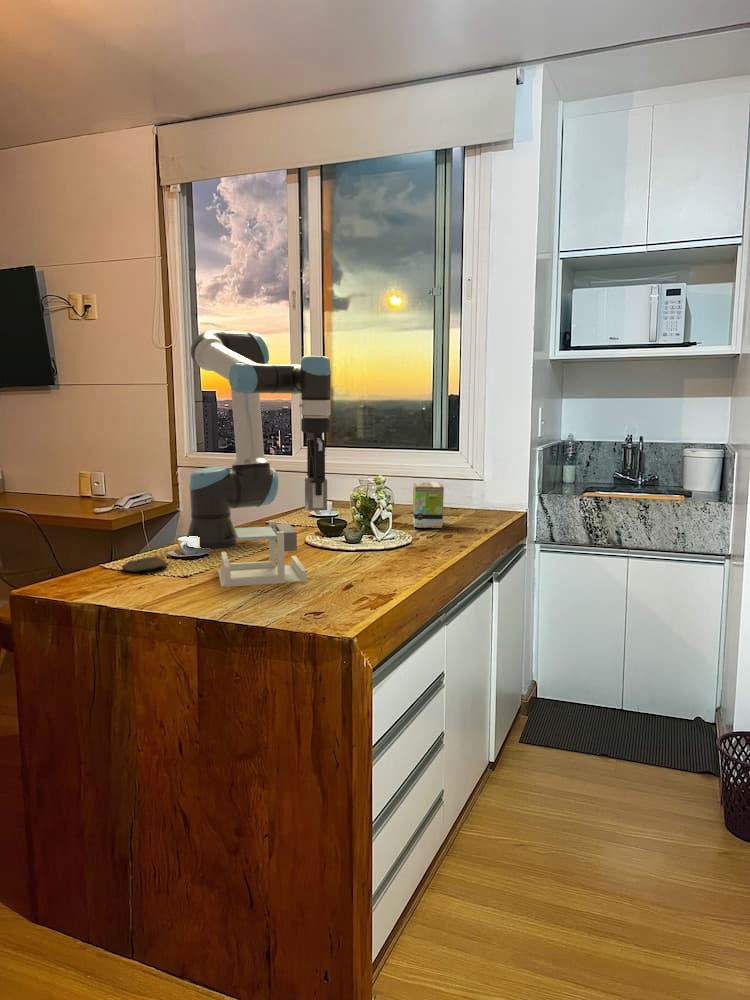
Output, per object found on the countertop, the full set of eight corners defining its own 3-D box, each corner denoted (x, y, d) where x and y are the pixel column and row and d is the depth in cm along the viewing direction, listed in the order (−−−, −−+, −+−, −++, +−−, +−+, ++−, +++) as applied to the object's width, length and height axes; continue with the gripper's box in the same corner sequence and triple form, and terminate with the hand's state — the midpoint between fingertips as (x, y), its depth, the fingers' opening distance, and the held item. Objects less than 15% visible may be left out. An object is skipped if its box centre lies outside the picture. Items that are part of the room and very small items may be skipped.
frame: (217, 571, 185) (216, 523, 183) (295, 566, 190) (295, 519, 188) (221, 588, 168) (219, 535, 166) (306, 582, 173) (306, 531, 171)
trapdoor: (235, 543, 183) (234, 525, 182) (289, 540, 186) (288, 523, 185) (239, 553, 170) (238, 534, 170) (296, 550, 174) (296, 532, 173)
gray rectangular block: (305, 507, 193) (304, 477, 191) (323, 507, 194) (323, 477, 193) (308, 510, 188) (308, 480, 187) (327, 510, 189) (327, 479, 188)
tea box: (443, 529, 245) (444, 486, 243) (413, 529, 245) (414, 486, 243) (440, 522, 260) (440, 481, 258) (412, 522, 260) (412, 481, 258)
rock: (129, 574, 178) (128, 564, 178) (117, 569, 188) (116, 559, 188) (173, 568, 184) (172, 557, 184) (160, 563, 194) (159, 553, 194)
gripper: (296, 415, 195) (296, 501, 198) (307, 418, 178) (307, 512, 181) (323, 415, 197) (323, 500, 200) (337, 418, 179) (337, 511, 183)
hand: (315, 505), depth 191 cm, fingers closed on gray rectangular block, 5 cm apart
